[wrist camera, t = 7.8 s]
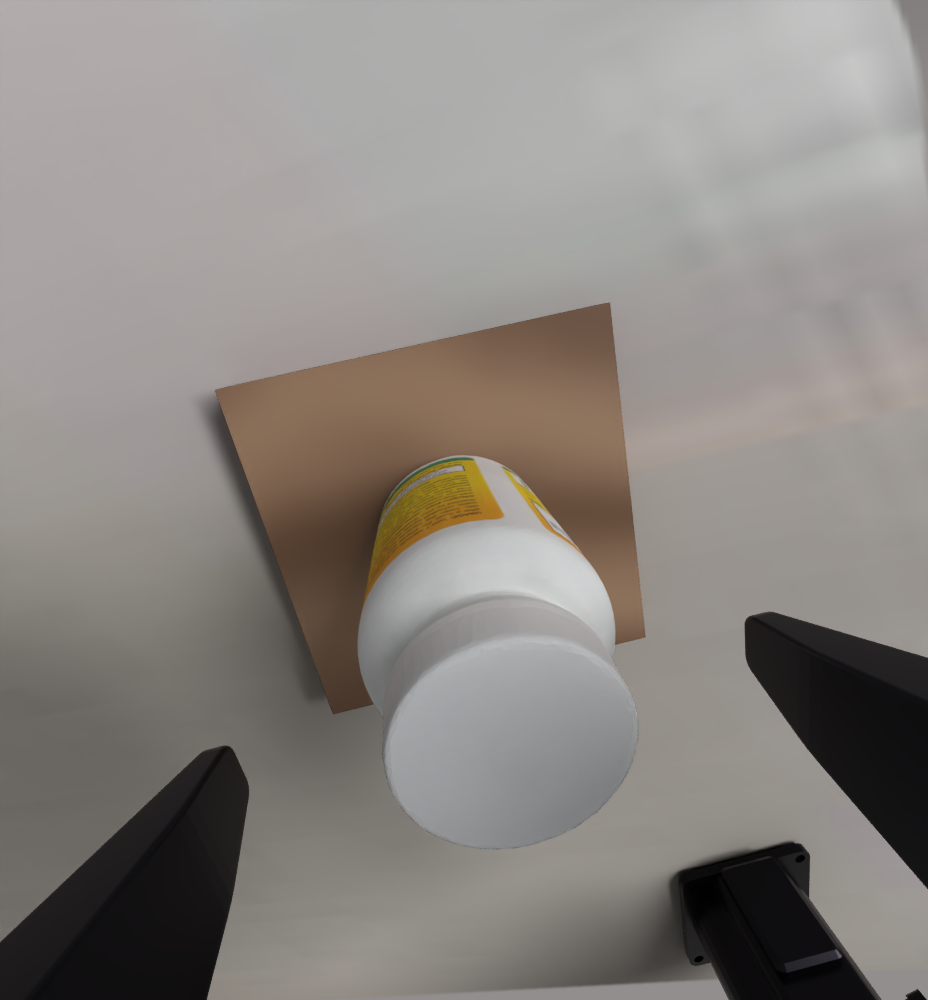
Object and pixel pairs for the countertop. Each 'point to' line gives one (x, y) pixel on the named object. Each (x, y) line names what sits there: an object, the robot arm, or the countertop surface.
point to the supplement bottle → (491, 661)
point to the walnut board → (423, 439)
